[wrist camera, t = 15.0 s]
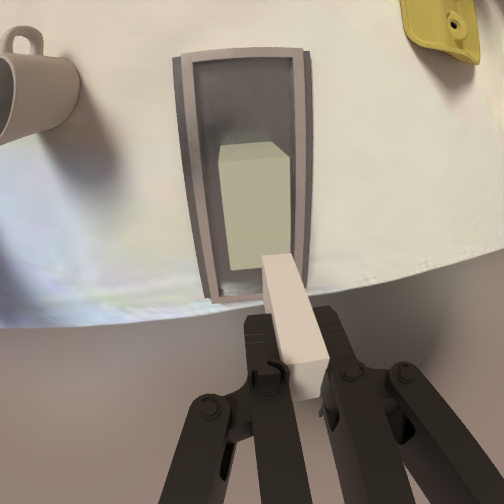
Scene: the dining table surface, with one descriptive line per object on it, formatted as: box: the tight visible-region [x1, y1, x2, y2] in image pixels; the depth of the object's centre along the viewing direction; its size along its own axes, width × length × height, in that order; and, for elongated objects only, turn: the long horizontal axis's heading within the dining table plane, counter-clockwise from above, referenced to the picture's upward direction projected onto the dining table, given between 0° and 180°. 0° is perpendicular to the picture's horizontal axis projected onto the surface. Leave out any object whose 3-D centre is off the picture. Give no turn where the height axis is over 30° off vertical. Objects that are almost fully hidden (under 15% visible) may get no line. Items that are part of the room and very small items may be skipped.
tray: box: [172, 47, 312, 304], centre depth 27 cm, size 13×28×2 cm, turn 3°
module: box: [218, 142, 291, 271], centre depth 24 cm, size 5×9×8 cm, turn 4°
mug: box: [0, 26, 80, 146], centre depth 14 cm, size 12×8×11 cm
